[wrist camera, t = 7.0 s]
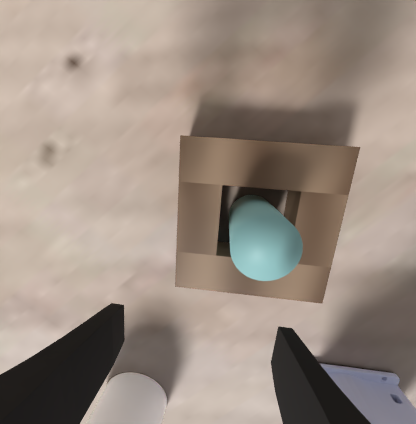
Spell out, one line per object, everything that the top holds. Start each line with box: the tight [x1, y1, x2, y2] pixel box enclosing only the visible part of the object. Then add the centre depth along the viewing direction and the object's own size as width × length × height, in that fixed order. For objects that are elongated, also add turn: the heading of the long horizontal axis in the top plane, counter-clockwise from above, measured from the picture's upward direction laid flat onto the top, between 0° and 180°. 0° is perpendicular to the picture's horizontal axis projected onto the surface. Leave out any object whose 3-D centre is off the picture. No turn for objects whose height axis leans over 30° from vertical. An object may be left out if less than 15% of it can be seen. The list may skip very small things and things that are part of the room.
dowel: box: [229, 195, 303, 281], centre depth 15 cm, size 4×4×7 cm
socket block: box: [175, 136, 360, 303], centre depth 17 cm, size 12×12×3 cm
